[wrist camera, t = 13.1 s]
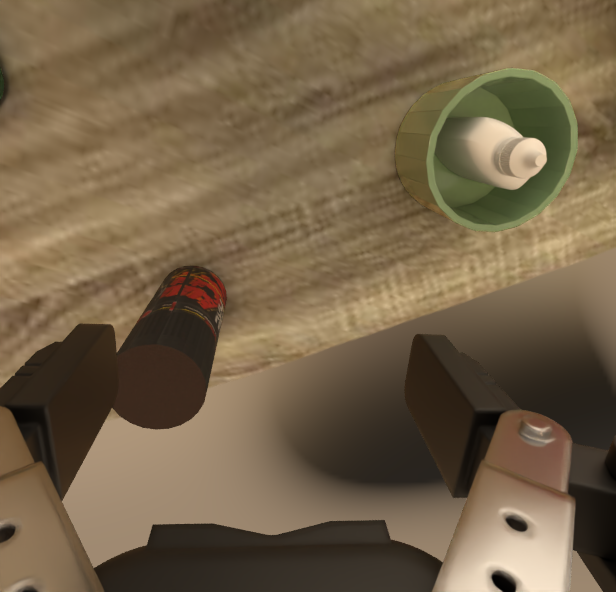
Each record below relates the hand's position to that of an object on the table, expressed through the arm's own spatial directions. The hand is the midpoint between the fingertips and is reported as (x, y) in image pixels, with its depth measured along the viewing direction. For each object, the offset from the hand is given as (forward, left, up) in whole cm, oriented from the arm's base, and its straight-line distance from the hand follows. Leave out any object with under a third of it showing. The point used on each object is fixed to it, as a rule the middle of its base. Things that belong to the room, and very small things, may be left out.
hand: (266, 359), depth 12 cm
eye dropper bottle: (-5, +16, -27) cm, 32 cm away
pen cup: (-5, +16, -28) cm, 32 cm away
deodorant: (+9, -6, -28) cm, 30 cm away
